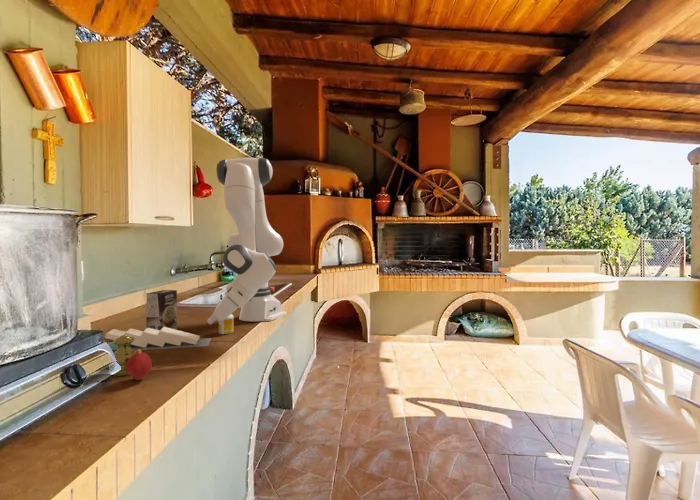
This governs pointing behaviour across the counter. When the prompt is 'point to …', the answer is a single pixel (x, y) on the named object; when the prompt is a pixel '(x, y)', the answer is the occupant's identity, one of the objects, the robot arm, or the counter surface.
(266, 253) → the robot arm
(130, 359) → the onion
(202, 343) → the slate board
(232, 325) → the supplement bottle
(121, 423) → the counter surface
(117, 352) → the olive waisted piece
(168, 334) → the domino
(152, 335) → the domino
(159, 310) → the coffee box
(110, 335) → the domino
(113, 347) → the domino
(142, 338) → the domino
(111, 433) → the counter surface
